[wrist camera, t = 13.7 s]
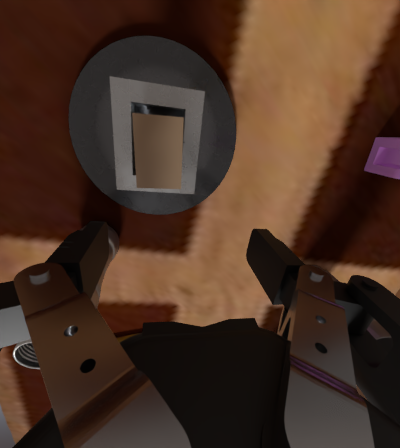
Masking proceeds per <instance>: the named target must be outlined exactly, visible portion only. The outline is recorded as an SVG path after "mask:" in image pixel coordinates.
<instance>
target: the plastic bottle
mask: <svg viewBox="0 0 400 448" xmlns="http://www.w3.org/2000/svg"><path fill="white" fill-rule="evenodd" d="M107 226H108V225H107ZM85 227H86V226H84V227H83V228H82V229H80V230H83V229H84V228H85ZM108 238H109V257H108V261H107V263H106V265H105V268H104V270H103V272H102V275H101V277H100V279H99V282H98V284H97V286H96V289H95V291H94V293H93V296H92V298H91V301H92V302H93V304H94V305H95V307H96V308H97V307H98V303H99V298H100V292H101V286H102V282H103V279H104V275H105V272H106V270H107V268H108V266H109V264H110V262H111V261H112V260H113V259H114V257H115V256H116V254H117V252H118V250H119V237H118V235H117V233H116V232H115V230H114V229H113V228H111V227H110V226H108ZM13 358H14V359H15V361H16V362H17V363H19V364H20V365H22V366H25V367H28V368H32V369H40V366H39V363H38V360H37V357H36V354H35V350H34V347H33V344H32V341H31V339H29V340H26V341H22V342H19V343H17V345H16V347H15V349H14V351H13Z"/></svg>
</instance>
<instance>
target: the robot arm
mask: <svg viewBox="0 0 400 448" xmlns="http://www.w3.org/2000/svg"><path fill="white" fill-rule="evenodd" d="M108 257H109V238H108V226H107V223H106V222H97V221H90V222H89V223H88V224H87V225H86V227H85V228H84V229H83V230H77V231H76V232H74V233H72V234H70V235H68V237H67V238H66V239H65V240H64V242H62V243H61V245H60V246H59V247H58V248H57V249H56V250H55V251H54V253H53V254H52V255H51V256H50V257H49V258H48V259H47V261H46V262H45V263H40V264H36V265H33V266H30V267H28V268H26V269H24V270H22V271H21V272H19V273H18V274H17V275H16V276H15V278H14V281H10V282H5V283H0V351H1V349H2V348H3V347H5V346H9V345H12V344H15V343H19V342H22V341H26V340H29V339H31V341H32V344H33V347H34V350H35V354H36V357H37V360H38V363H39V366H40V370H41V373H42V376H43V379H44V382H45V386H46V389H47V392H48V395H49V398H50V402H51V405H52V408H51V409H50V410H49V411H48V412H47V413H46V414H45V415H44V416H43V417H42V418H41V419H40V420H39V421H38V422H37V423H36V424H35V425H34V426H33V427H32V428H31V429H30V430H29V431H28V432H27V433H26V434H25V435H24V436H23V437H22V439H21V440H20V441H19V442H18V443H17V444H16V445H15V446H14V447H13V448H400V299H399V298H397V297H396V296H395V295H394V294H393V293H391V292H390V291H389V290H387V289H386V288H385V287H384V286H382V285H381V284H379V283H378V282H376V281H374V280H372V279H370V278H367V277H364V276H360V275H353V276H351V278H350V280H349V281H348V283H347V284H346V283H342V282H339V281H338V280H337V279H336V278H335V277H334V276H333V275H332V274H330V273H329V272H328V271H327V270H323V269H322V268H321V267H319V266H315V265H305V264H304V263H303V262H302V261H301V260H300V259H299V258H298V257H297V256H296V255H295V254H294V253H292V251H291V250H290V249H289V248H288V247H287V246H286V245H285V244H284V243H283V242H282V241H280V240H278V239H277V238H275V237H274V236H273V235H272V234H271V233H270V232H269V231H268V230H267V229H253V230H252V233H251V237H250V240H249V244H248V248H247V253H246V257H247V262H248V263H249V265H250V267H251V268H252V270H253V272H254V274H255V275H256V277H257V279H258V280H259V282H260V284H261V285H262V287H263V289H264V290H265V292H266V294H267V296H268V297H269V299H270V301H271V302H272V304H273V305H279V304H283V305H284V308H283V311H282V314H281V319H280V323H279V328H278V332H277V334H276V333H274V332H272V331H269V330H267V329H263V328H259V327H258V325H257V323H256V320H255V318H245V319H228V320H225V321H221V322H218V323H215V324H212V325H208V326H205V327H200V326H194V325H189V324H183V323H178V322H150V323H143V330H142V333H139V334H136V335H134V336H131V337H129V338H127V339H125V340H123V341H121V342H120V343H119V342H118V340H117V339H116V337H115V336H114V334H113V333H112V331H111V330H110V328H109V327H108V325H107V324H106V322H105V321H104V319H103V318H102V316H101V314H100V313H99V311H98V310H97V308H96V307H95V305H94V304H93V302H92V301H91V298H92V296H93V293H94V291H95V289H96V286H97V284H98V282H99V279H100V277H101V275H102V272H103V270H104V268H105V265H106V263H107V261H108ZM356 385H357V386H358V387H359V389H360V390H361V391H362V393H363V394H364V395H365V397H366V398H367V400H368V401H367V400H366V399H365V398H363V397H362V396H361V395H359V394H358V392H357V388H356Z"/></svg>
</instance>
